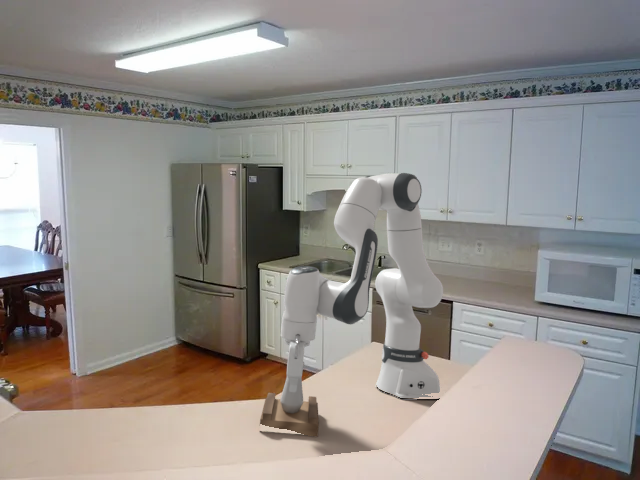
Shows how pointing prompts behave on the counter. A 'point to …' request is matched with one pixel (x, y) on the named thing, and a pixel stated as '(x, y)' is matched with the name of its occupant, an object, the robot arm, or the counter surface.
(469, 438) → the counter surface
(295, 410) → the salt shaker
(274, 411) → the display stand
